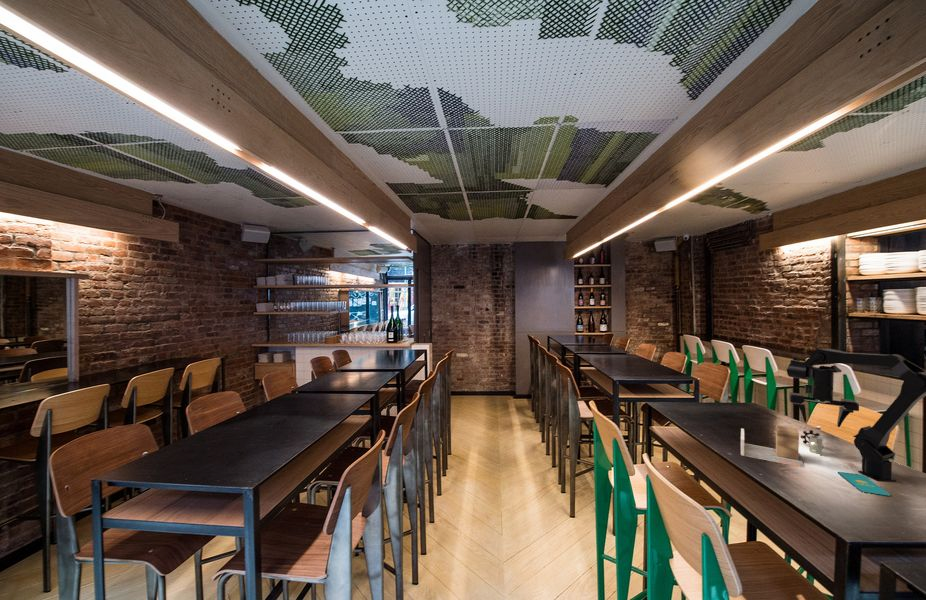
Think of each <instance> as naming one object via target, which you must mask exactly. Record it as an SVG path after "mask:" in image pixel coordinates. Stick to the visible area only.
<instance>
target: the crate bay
mask: <svg viewBox="0 0 926 600" xmlns="http://www.w3.org/2000/svg"><path fill="white" fill-rule="evenodd" d="M740 456H743V457H749V458H750V457H751V458H754V459H756V458H757V459H759V460H763V461H764V460H766V461H769V462H774V463H775V462H776V463H779V464H785V465H787V466H788V465H790V466H795V467H799V468H806V466H805V464H804V461H803V459H802V456H801V454H800V452H798V461H797V460H792V459H787V458H782V457H777V456H776V448H772V447H768V446H761V445H756V444H751V443H747V442H745V428H740Z"/></svg>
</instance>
